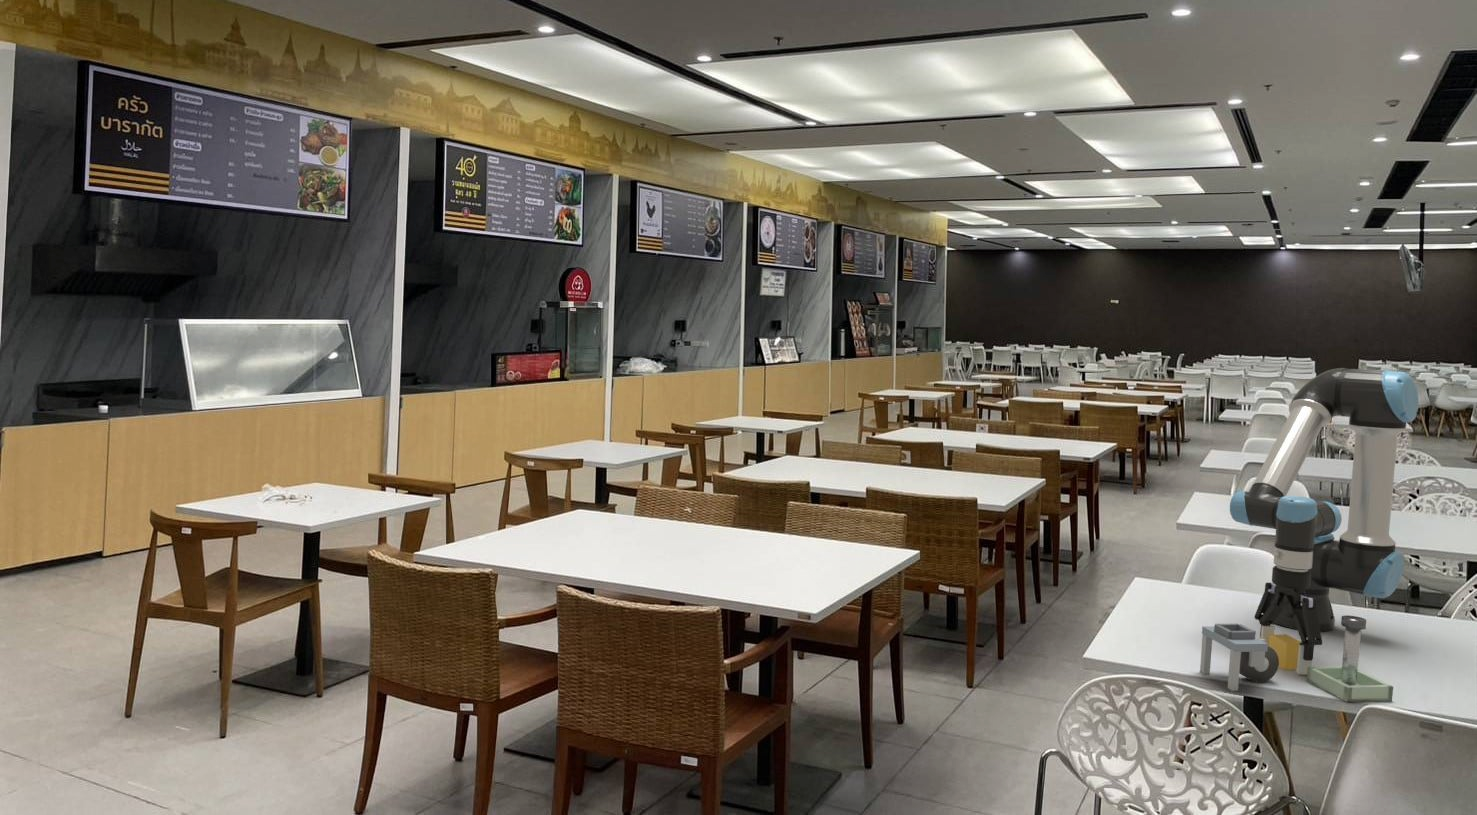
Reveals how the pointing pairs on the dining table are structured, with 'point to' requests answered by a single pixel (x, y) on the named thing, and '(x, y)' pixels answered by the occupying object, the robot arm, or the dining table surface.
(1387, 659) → the dining table surface
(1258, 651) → the cart
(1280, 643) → the block
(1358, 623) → the pin
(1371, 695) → the tray
